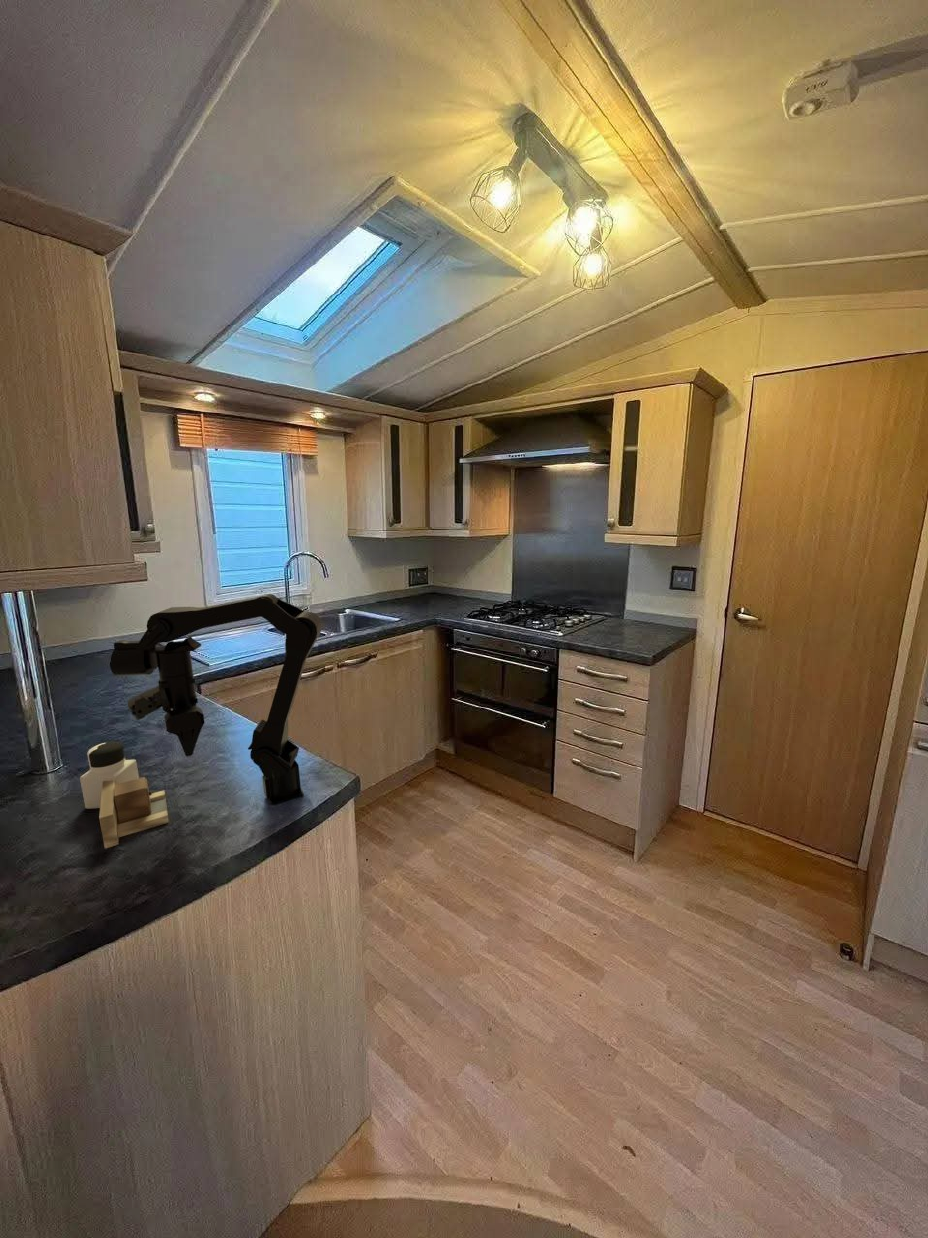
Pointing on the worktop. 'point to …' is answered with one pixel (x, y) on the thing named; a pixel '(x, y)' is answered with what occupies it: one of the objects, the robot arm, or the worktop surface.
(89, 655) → the worktop surface
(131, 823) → the cleat board
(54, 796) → the worktop surface
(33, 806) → the worktop surface
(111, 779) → the medicine bottle
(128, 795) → the cabinet block
